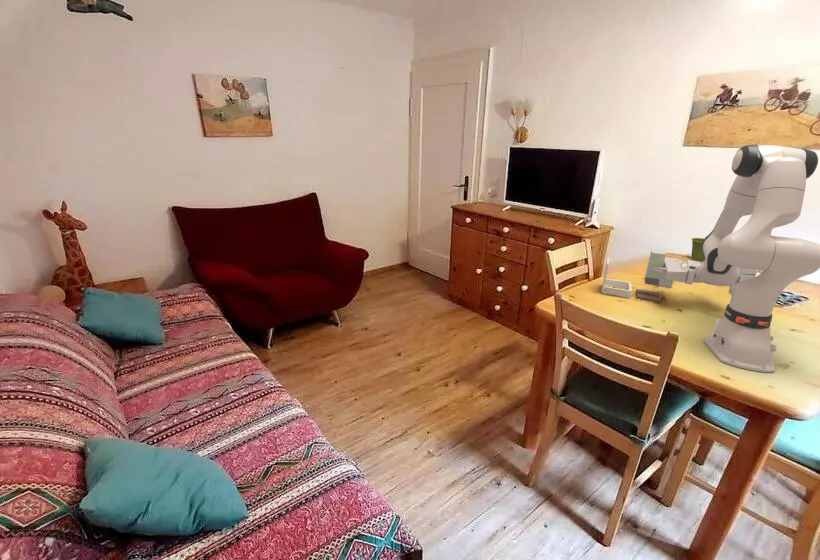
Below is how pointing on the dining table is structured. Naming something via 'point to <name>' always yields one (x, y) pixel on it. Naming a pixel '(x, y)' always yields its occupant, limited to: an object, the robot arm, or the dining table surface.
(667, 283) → the supplement box
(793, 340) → the dining table surface
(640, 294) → the walnut board
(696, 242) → the plant pot
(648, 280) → the sage box
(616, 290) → the white backed tray
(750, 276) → the syrup box
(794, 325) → the dining table surface
